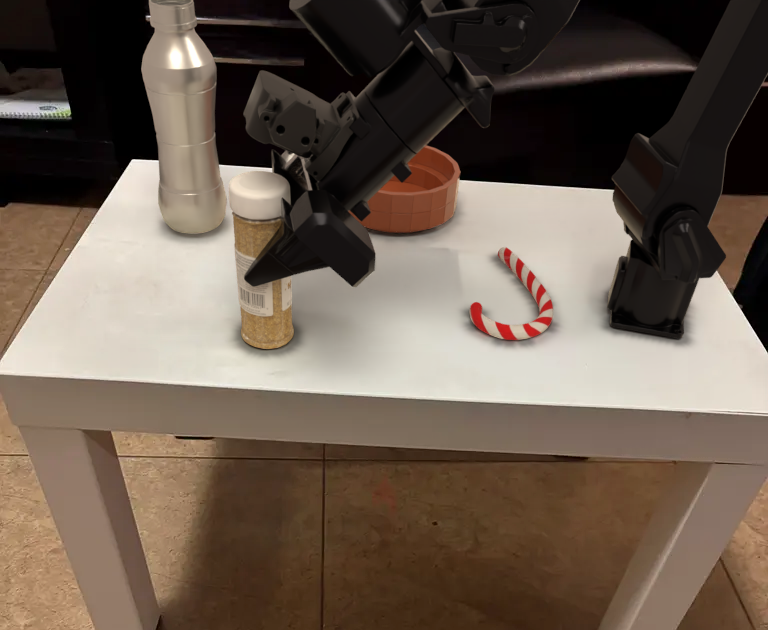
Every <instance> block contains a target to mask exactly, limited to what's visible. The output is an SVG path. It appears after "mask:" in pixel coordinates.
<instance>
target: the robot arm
mask: <svg viewBox="0 0 768 630" xmlns="http://www.w3.org/2000/svg"><path fill="white" fill-rule="evenodd" d="M580 1H581V0H289V4H288V7H289V9H290V11H291V12H292V13H293V14H294V15H295V16H296V18H298V20H299V21H300V22H301V23H302V24H303V25H304V26H305V27H306V28H307V30H308V31H309V32H310V33H311V34H312V35H313V36H314V38H316V40H317V41H318V42H319V43H320V44H321V45H322V46H323V47H324V49H325V50H326V51H327V52H328V53H329V54H330V55H331V57H333V59H334V60H335V61H336V62H337V63H338V64H339V65H340V67H341V68H342V69H343V70H344V71H345V72H346V73H347V74H348V75H349V76H351V77H353V76H359V75H361V74H364V75H365V76H366V78H368V79H369V78H372V77H374V76H375V77H374V78H373V79H372V80H371V81H370V82H369V83H368V85H366V86H365V87H364V89H362V91H361V92H360V93H359V94H358V95H357V96H354V94H353V93H352V92H351V91H350V90H348V91H347V92H346V93H345V92H340V94H338V96H337V97H336V98H335V99H334V100H333V101H331V102H328V101H325V100H324V99H322V98H320V97H318V96H317V95H315V94H314V93H312V92H310V91H308V90H307V89H304V88H303V87H301V86H299V85H297V84H294V83H292V82H290V81H289V80H286V79H284V78H282V77H280V76H278V75H276V74H274V73H272V72H270V71H266V70H263V69H262V70H259V72H258V75H257V77H256V80H255V82H254V85H253V87H252V90H251V92H250V95H249V98H248V100H247V103H246V105H245V107H244V110H243V113H242V114H243V117H244V118H245V123H246V124H245V131H246V133H247V134H248V135H249V136H250V137H251V138H252V139H254V140H256V141H257V142H259V143H262V144H264V145H268V144H271V145H273V146H274V147H278V148H280V149H282V150H284V152H283V153H282V154H280V153H279V152H278V151H276V150H275V149H271V151H270V158H271V159H270V160H271V171H272V173H276V174H279V175H281V176H282V177H284V178H285V179H286V180H287V181H288V182H289V185H290V198H291V205H290V204H289V203H288V202H287V201H286V200H285V199H284V198H283V197H282V198H281V226H280V227H279V229H278V230H277V231H276V233H275V234H274V235H273V237H272V238H271V239H270V241H269V242H268V243H267V244H266V246H265V247H264V248H263V250H262V251H261V252H260V254H259V255H258V256H257V258H256V259H255V260H254V262H253V263H252V264H251V266H250V267H249V269H248V270H247V272H246V273H245V275H244V280H245V281H246V282H247V283H249V284H250V285H251V286H253V287H255V286H259V285H262V284H266V283H269V282H272V281H276V280H279V279H283V278H286V277H289V276H291V277H293V276H296V275H299V274H303V273H308V272H313V271H317V270H322V269H327V268H330V269H331V270H332V271H334V272H335V273H336V274H337V275H338V276H339V277H340V278H341V279H342V280H344V281H345V282H346V283H347V284H348V286H350V287H352V288H358V286H360V285H361V284H362V283H363V282H364V281H365V280H366V279H367V278H368V277H369V276H371V275H372V274H373V273H374V272H375V271H376V259H377V257H376V255H377V253H376V250H375V247H374V244H373V241H372V239H371V235H370V232H369V229H368V228H366V227H364V226H363V225H362V224H361V223H360V222H359V221H358V220H356V219H355V218H354V217H353V216H352V215H351V214H350V213H349V212H348V211H349V210H350V211H351V212H352V213H353V214H354V215H355V216H356V217H357V218H358V219H359V220H360V221H361V222H362V221H363V220H364V219H365V218H366V217H367V216H368V215H369V214H370V213H371V211H370V208H369V205H368V202H367V201H369V200H370V199H371V198H372V197H373V196H374V195H375V194H376V193H377V192H378V191H379V190H380V189H381V188H382V187H383V186H384V185H385V184H386V183H387V182H388V181H389V180H390V179H391V178H392V177H393V176H396V177H397V179H398V180H399V181H400V182H401V183H403V182H404V181H405V180H406V179H407V178H408V177H409V176H410V175H411V174H412V172H411V170H410V168H409V166H408V162H409V161H410V160H411V159H412V158H413V157H414V156H415V155H416V154H417V153H418V152H419V151H420V150H421V149H423V148H424V147H425V146H426V145H427V146H428V144H429V143H430V142H431V141H432V140H433V139H434V138H435V137H437V135H438V134H439V133H440V132H441V131H443V130H444V129H445V128H446V127H447V126H448V125H449V124H450V123H451V122H452V121H453V120H454V119H455V118H456V117H457V116H458V115H459V114H460V113H461V112H462V111H463V110H464V109H466V110H467V112H468V113H469V114H470V116H472V118H473V119H474V120H475V121H476V123H477V124H478V125H479V126H480V128H483V129H487V128H488V127H489V126H490V124H491V114H492V113H491V112H492V111H491V109H492V108H491V106H492V99H493V95H494V93H495V90H496V89H495V85H494V84H493V83H492V81H491V80H490V78H489V77H488V76H487V75H472V73H471V72H470V71H469V70H468V68H467V66H465V64H464V63H463V62H462V60H461V59H460V58H459V57H458V56H457V54H462V55H466V56H468V57H469V58H470V59H471V61H472V63H474V64H475V65H476V66H477V68H479V69H480V70H482V71H484V72H485V73H488V74H490V75H495V76H497V75H498V76H507V77H511V76H514V75H517V74H519V73H521V72H522V71H524V70H525V69H527V68H528V67H530V66H531V65H532V64H533V63H534V62H535V61H536V60H537V59H538V58H539V57H540V56H541V55H542V54H543V52H544V51H545V50H546V49H547V48H548V47H549V45H550V44H551V43H552V42H553V40H554V39H555V38H556V37H557V36H558V35H559V34H560V33H561V31H562V30H564V28H565V27H566V26H567V25H568V23H569V22H570V20H571V18H572V16H573V14H574V12H575V11H576V9H577V7H578V5H579V3H580ZM421 25H424V26H425V28H426V29H427V30H428V31H429V33H430V34H431V35H432V37H433V38H434V39H435V40H436V42H437V43H438V44H439V46H440V47H437V48H435V49H432V48H431V47H430V46H429V44H428V43H427V42H426V40H425V39H423V37H422V36H421V34H420V33H419V32H418V31H417V29H418V28H419V27H420V26H421ZM767 77H768V0H730V1H729V3H728V4H727V6H726V9H725V11H724V13H723V14H722V16H721V19H720V21H719V22H718V25H717V27H716V28H715V31H714V33H713V35H712V37H711V39H710V41H709V43H708V45H707V47H706V49H705V51H704V53H703V55H702V56H701V59H700V61H699V63H698V64H697V67H696V69H695V71H694V73H693V75H692V77H691V78H690V81H689V83H688V85H687V87H686V88H685V91H684V93H683V94H682V97H681V99H680V101H679V103H678V105H677V107H676V109H675V111H674V113H673V115H672V116H671V118H670V119H669V121H668V122H667V123H666V124H664V125H663V126H662V127H661V128H660V129H659V130H657V131H656V132H655V133H654V134H653V135H651V136H650V137H647V136H645V135H643V134H641V133H639V132H637V133H635V134H634V135H633V137H632V138H631V140H630V143H629V145H628V148H627V151H626V154H625V157H624V159H623V162H622V163H621V164H620V167H619V168H618V169H617V170H616V172H615V173H614V174H612V176H611V180H612V181H613V182H614V184H615V186H614V189H613V191H612V203H613V206H614V208H615V212H616V214H617V215H618V216H619V218H620V219H621V221H623V231H624V233H625V234H626V235H628V236H629V237H630V238H631V240H630V241H629V245H628V248H627V252H626V255H620V256H619V257H618V259H617V263H616V266H615V269H614V274H613V277H612V279H611V283H610V287H609V291H608V293H607V305H606V308H607V310H608V311H610V317H609V318H610V319H609V325H610V326H611V327H613V328H616V329H622V330H628V331H633V332H638V333H639V332H640V333H646V334H650V335H656V336H661V337H668V338H672V339H682V338H683V337H684V334H685V324H684V323H685V322H684V321H685V319H686V316H687V313H688V310H689V308H690V305H691V302H692V299H693V297H694V294H695V292H696V288H697V287H698V284H699V280H700V279H710V278H712V277H713V276H714V275H715V274H716V272H717V271H718V270H719V268H720V266H721V265H723V263H724V262H725V260H726V258H727V254H726V252H725V251H724V249H723V247H722V246H721V245H720V244H719V242H718V241H717V239H716V237H715V236H714V234H713V233H712V231H711V230H710V228H709V225H710V223H711V220H712V218H713V215H714V213H715V211H716V208H717V205H718V203H719V202H720V198H721V196H722V193H723V188H724V187H723V186H724V177H725V169H726V161H727V152H728V148H729V146H730V143H731V141H732V140H733V138H734V136H735V134H736V133H737V130H738V129H739V127H740V126H741V124H742V121H743V120H744V118H745V116H746V115H747V113H748V111H749V109H750V107H751V106H752V104H753V102H754V100H755V99H756V96H757V94H758V93H759V91H760V89H761V88H762V86H763V84H764V82H765V80H766V78H767Z"/></svg>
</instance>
